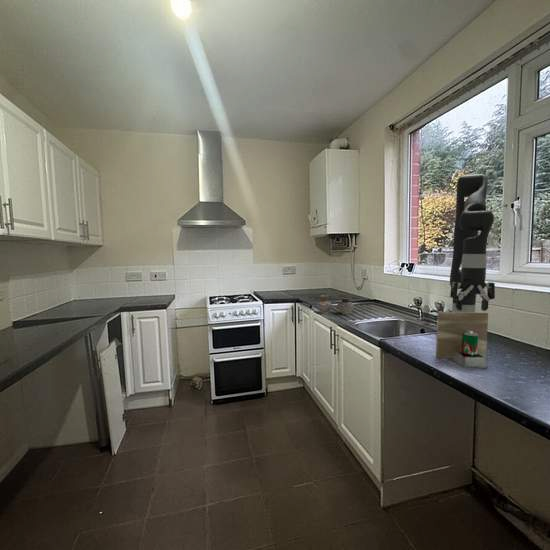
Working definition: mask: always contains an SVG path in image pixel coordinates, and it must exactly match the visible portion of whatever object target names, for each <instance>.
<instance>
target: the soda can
mask: <svg viewBox="0 0 550 550" xmlns="http://www.w3.org/2000/svg"><path fill="white" fill-rule="evenodd" d="M461 355H463V356H464V357H477V355H478V334H477V332H476V331H472V330H464V332H463V333H462V352H461Z"/></svg>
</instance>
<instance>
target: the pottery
mask: <svg viewBox="0 0 550 550" xmlns="http://www.w3.org/2000/svg"><path fill="white" fill-rule="evenodd" d="M328 298H329V295H325V294H324V295H320V299H321V300H319V302H317V303H316V306H317V309H318V311H320V312H319V313H320V314H321V315H327V314H329V311H330V310H331V308H332V305H333V304H332V303H331V302H330V301H329V299H328ZM340 300H341V302H339V303H337V308H338V310H339V311H340V313H341V315H345V316H349V315H351V313H352V312H354V309H355V306H356V305H355V304H354V303H353V302H351V301H352V298H351V297H341V299H340Z"/></svg>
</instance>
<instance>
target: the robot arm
mask: <svg viewBox="0 0 550 550" xmlns="http://www.w3.org/2000/svg"><path fill="white" fill-rule="evenodd" d="M488 183H489V181H488V176H487V175H486V174H483V173H478V174H468V175H467V174H465V175H460V176H459V177H458V179H457V182H456V194H455V195H456V201H455V202H456V209H455V211H456V212H455V220H454V230H453V245H452V247H453V250H452V252H453V253H452V260H451V261H452V262H451V269H450V276H449V285H450V294H449V295H450V296H449V297H450V298H451V299H452V303H451V306H452V307H451V312H476V300H477V296H479V297H480V298H481V303H480V304H481V306H480V310H481V311H482V312H487V310H488V309H489V303H490V302H489V301H490V300H494V299H495V297H496V291H495V289H496V283H494V282H492V281H491V282H490V281H488V282H486V279H487V277H486V276H487V243H488V237H489V234H490V232H491V229H492V226H493V224H494V221H495V216H494V214H493V212H492V211H490V210H487V203H486V199H487V193H488ZM465 198H466V199H465ZM479 231H480V233H479ZM460 268H461V269H460ZM485 288H486V289H487V290H486V291H485V290H484V289H485ZM458 290H459V291H458ZM486 292H487V293H486Z"/></svg>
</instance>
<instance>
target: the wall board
mask: <svg viewBox="0 0 550 550" xmlns="http://www.w3.org/2000/svg"><path fill="white" fill-rule="evenodd" d="M436 320H437V321H436V341H435V343H436V345H435V356H436V357H437V358H449V359H450V356H451V349H454V350H455V351H457V352H458V353H460V354H461V352H462V333H463V332H464V330H472V331H476V332H477V334H478V353H480V354H481V355H483V356H485V357H487V342H488V330H489V329H488V326H489V325H488V324H489V312H487V311H482V312H480V311H475V312H452V311H437V318H436Z"/></svg>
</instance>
